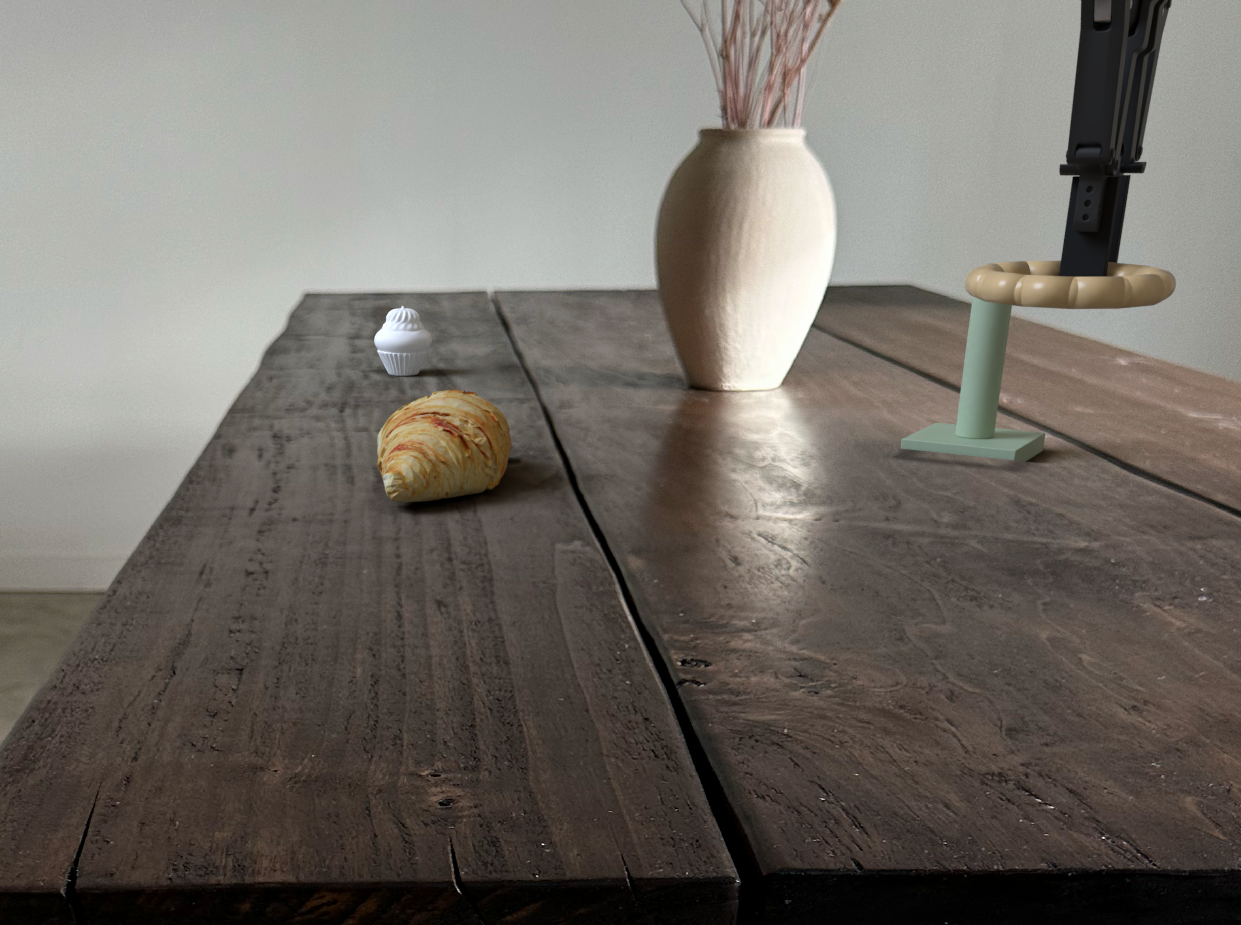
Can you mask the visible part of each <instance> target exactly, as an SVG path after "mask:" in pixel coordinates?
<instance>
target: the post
mask: <svg viewBox="0 0 1241 925" xmlns="http://www.w3.org/2000/svg"><path fill="white" fill-rule="evenodd" d="M1012 308H1013V305H1006V304H998V303H990V302H985V301H983V300H980V299H978V298H976V297H973V296H972V300H971V307H970V315H969V323H968V330H967V337H966V347H965V354H964V362H963V369H962V376H961V384H960V392H959V399H958V408H957V415H956V423H946V422H934V423H932V424H929V425H928V426H926V427H924V428H922V429H920V430H918V431H916V432H914V433H911V434H909V435H907V436H905V437H903V438H901V440H900V450H901V449H903V450H911V451H919V452H920V451H921V452H930V453H941V454H951V455H959V456H970V457H979V458H989V459H996V460H997V459H998V460H1006V461H1017V462H1028V461H1029V460H1031V459H1033V458H1034V457H1035V456H1038V455H1039V454H1041V453H1042V452H1043V451H1044V445H1045V439H1046V432H1041V431H1031V430H1019V429H1009V428H998V427H996V423H997V417H998V409H999V408H998V407H999V401H1000V395H1001V388H1002V381H1003V380H1002V379H1003V374H1004V365H1005V358H1006V352H1007V344H1008V337H1009V330H1010V323H1011V316H1012V315H1011V314H1012Z"/></svg>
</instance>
